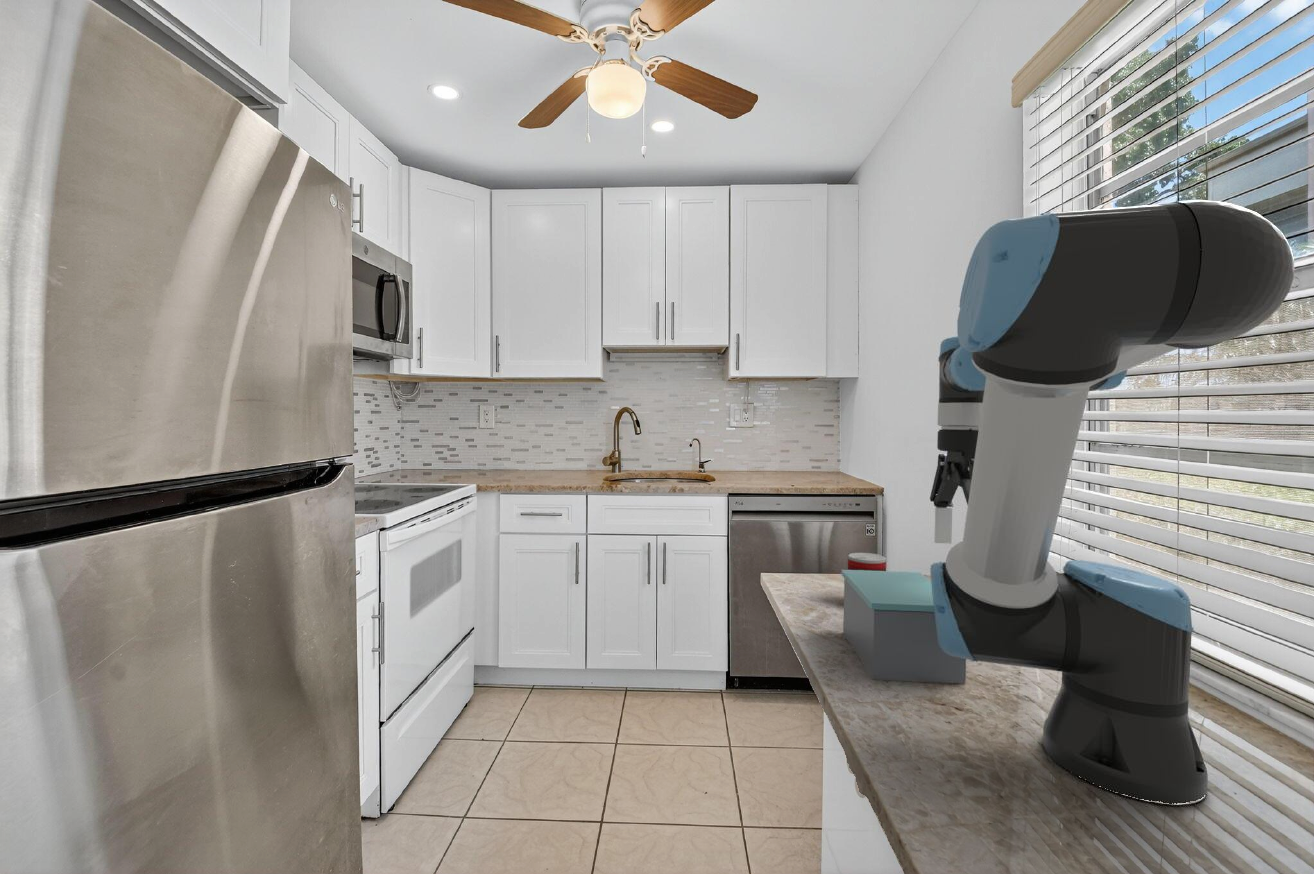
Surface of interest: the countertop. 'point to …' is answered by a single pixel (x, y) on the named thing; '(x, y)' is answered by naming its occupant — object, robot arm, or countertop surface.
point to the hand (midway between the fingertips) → (958, 551)
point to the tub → (898, 643)
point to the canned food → (866, 562)
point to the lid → (892, 589)
